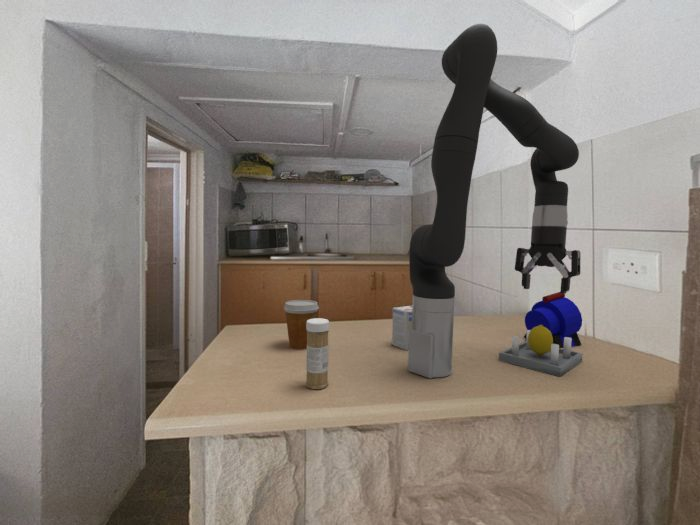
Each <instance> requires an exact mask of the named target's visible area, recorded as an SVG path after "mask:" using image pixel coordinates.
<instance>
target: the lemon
mask: <svg viewBox="0 0 700 525" xmlns="http://www.w3.org/2000/svg"><path fill="white" fill-rule="evenodd" d="M528 343H529V347H530V349H531V350H532V351H533V352H535V353H536V354H537V355H538V356H542V355H543V354H546V353H548V352H550V350H551V344H553V337H552V334H551V332H550V331H549V330H548V329H547V328H546V327H543V325H539V326H536V327H534V328H533V329H532V330H531V331H530V333H529V336H528Z"/></svg>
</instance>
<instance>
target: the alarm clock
mask: <svg viewBox="0 0 700 525" xmlns="http://www.w3.org/2000/svg"><path fill="white" fill-rule="evenodd" d="M565 296H566V294H561V293H560V291H559V292H554V293H551V294H547V295H545V296H542V300H539V301H537V302H535V303H534V304H533V305H532V307H531V310H529V311H528V312H527V313H526V315H525V316H524V324H525V327H526V331H527V330H532V329H533V328H534V327H536V326H539V325H543V327H546V328H547V329H548V330H549V331H550V332H551V334H552V337H553V344H558V345H559V348H560V349H563V348H564V337H569V338H572V341H571V348H573V347H581V346H580V345H582V343H581V340H580V338H579V336H578V332H579V331H580V329H581V328H582V325H583V324H582V323H583V317H582V313H581V310H580V309H579V307H578V306H577V305H576V303H575V302H574V301H572V300H571V299H569V297H565ZM523 338H527V332H526V333H525V334H524V337H523Z"/></svg>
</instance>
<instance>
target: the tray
mask: <svg viewBox="0 0 700 525" xmlns="http://www.w3.org/2000/svg"><path fill="white" fill-rule="evenodd" d="M530 331H531V330H527V329H526V333H527V337H526V340H524V341H523V342H520V336H519V335H512V337H511V341H512V342H511V346H510V347H509V348H506V349H504V350H502V351H499V352H498V362H504V363H506V362H507V364H510V365H514V366H519V367H521V366H522V367H523V368H526V369H530V370H532V371H537V372H540V373H545V374H548V375H552V376H556V377H560V378H561V377H562V376H563V375H566V373H568V372H569V371H571V370H572V369H573V368H575V367H576V366H577V365H579V364H580V363H582V362H583V353H582V352H578V351H573V350H572V347H571V341H572V338H569V337H564V348H559V345H558V344H551V350H550V352H548V353H546V354H543V355H542V356H538V355H537V354H536V353H535V352H533V351H532V350H531V349H530V347H529V343H528V336H529V333H530Z"/></svg>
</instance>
